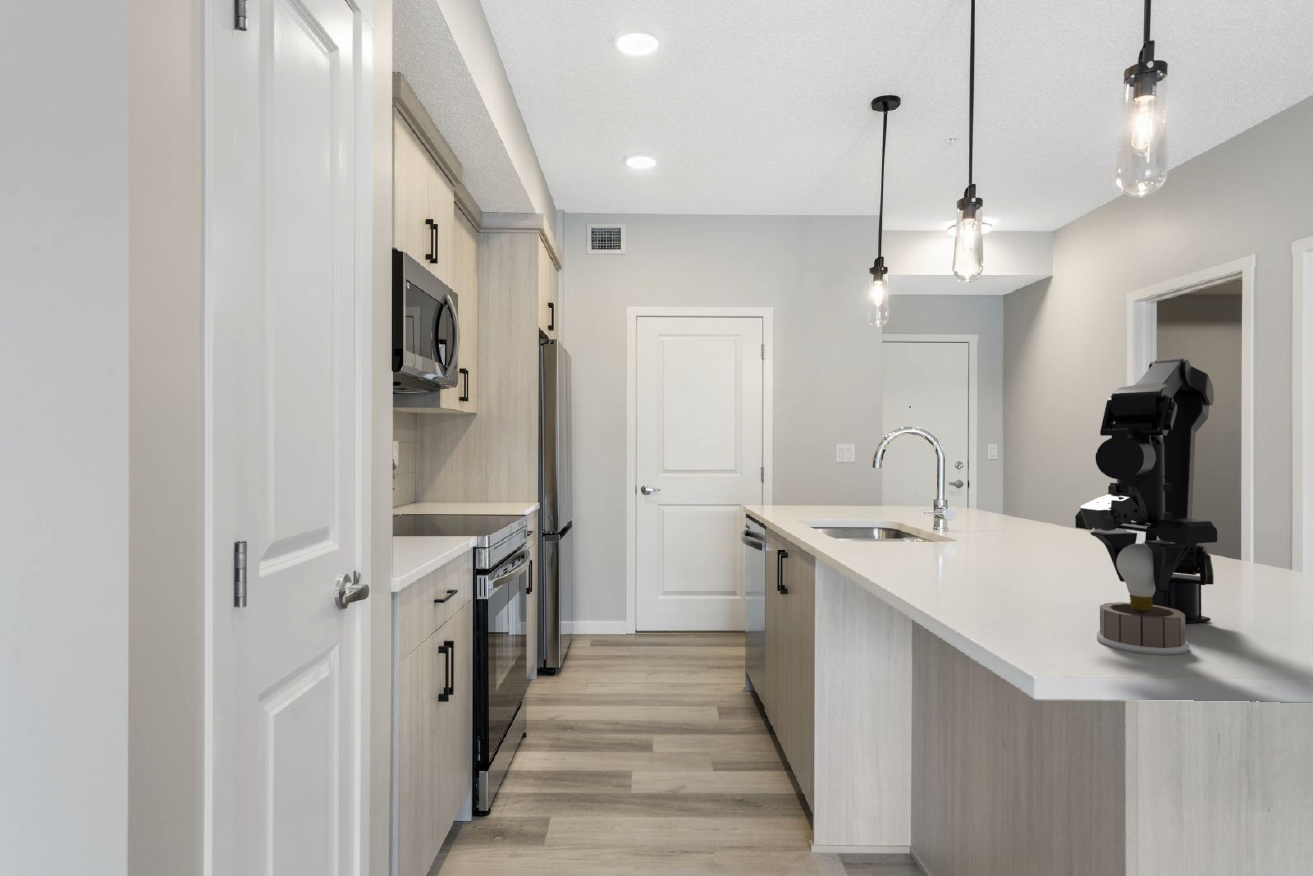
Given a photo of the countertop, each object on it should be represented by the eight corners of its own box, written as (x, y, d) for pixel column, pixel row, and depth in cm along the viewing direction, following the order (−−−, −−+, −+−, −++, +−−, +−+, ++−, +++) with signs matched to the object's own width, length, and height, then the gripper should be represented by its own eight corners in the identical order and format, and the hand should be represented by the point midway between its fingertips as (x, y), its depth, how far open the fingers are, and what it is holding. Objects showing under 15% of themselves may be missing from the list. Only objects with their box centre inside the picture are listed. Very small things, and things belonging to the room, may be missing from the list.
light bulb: (1174, 619, 103) (1173, 547, 103) (1127, 617, 104) (1126, 546, 104) (1154, 609, 109) (1154, 541, 109) (1110, 608, 110) (1109, 540, 110)
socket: (1141, 631, 113) (1140, 600, 113) (1209, 651, 102) (1208, 616, 102) (1079, 636, 110) (1078, 603, 111) (1142, 657, 100) (1141, 621, 100)
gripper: (1044, 474, 114) (1045, 576, 114) (1149, 481, 96) (1150, 603, 96) (1106, 472, 116) (1107, 573, 116) (1220, 479, 98) (1221, 598, 98)
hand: (1141, 585), depth 106 cm, fingers closed on light bulb, 6 cm apart
